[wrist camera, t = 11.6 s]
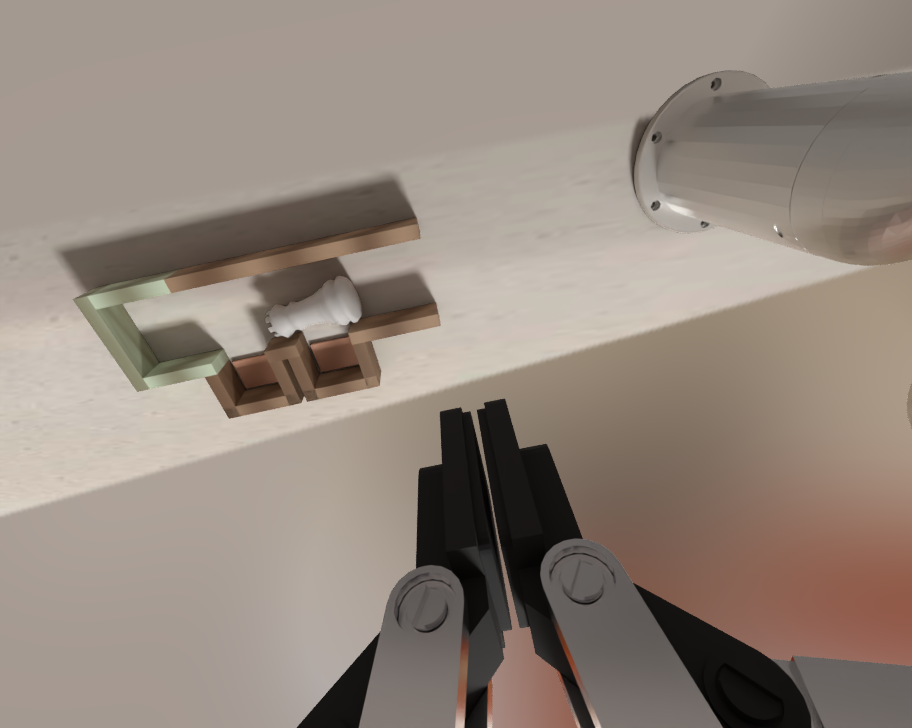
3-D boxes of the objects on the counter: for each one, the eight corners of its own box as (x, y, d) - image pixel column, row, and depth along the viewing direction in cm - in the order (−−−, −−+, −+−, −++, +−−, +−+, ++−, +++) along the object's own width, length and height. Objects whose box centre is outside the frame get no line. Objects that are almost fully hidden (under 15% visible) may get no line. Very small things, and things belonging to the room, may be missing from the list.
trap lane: (416, 217, 37) (417, 224, 34) (448, 356, 44) (450, 370, 41) (96, 287, 37) (72, 299, 34) (180, 414, 44) (165, 432, 41)
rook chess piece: (354, 278, 40) (280, 303, 41) (334, 269, 35) (252, 297, 36) (367, 323, 40) (293, 347, 41) (349, 319, 35) (266, 346, 36)
